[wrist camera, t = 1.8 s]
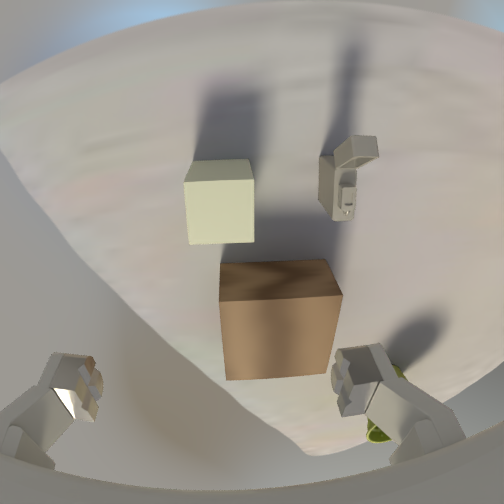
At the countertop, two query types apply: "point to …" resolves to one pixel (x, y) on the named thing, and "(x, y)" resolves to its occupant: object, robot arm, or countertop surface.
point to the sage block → (220, 201)
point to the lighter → (344, 175)
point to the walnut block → (277, 318)
